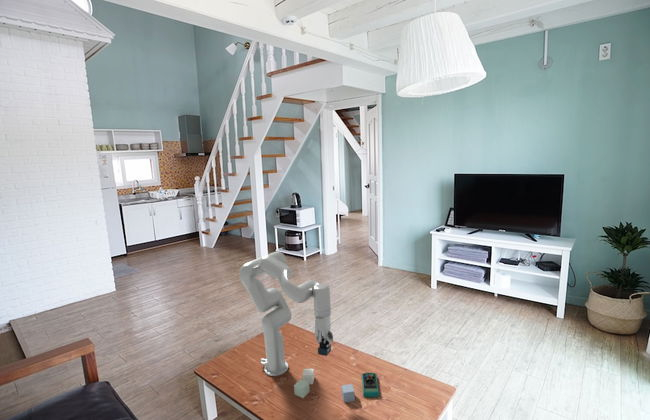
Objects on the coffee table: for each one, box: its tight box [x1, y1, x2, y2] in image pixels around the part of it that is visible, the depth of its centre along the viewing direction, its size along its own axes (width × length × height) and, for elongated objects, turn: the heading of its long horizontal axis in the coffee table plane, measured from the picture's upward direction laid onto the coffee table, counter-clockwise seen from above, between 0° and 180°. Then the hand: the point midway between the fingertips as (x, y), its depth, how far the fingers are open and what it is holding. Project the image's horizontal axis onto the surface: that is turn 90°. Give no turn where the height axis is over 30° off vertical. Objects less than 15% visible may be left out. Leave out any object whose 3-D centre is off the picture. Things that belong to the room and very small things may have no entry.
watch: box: [315, 329, 334, 357], centre depth 159 cm, size 6×8×11 cm
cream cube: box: [301, 368, 315, 385], centre depth 170 cm, size 5×5×5 cm
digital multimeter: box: [361, 372, 380, 398], centre depth 164 cm, size 7×15×3 cm, turn 176°
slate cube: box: [341, 383, 356, 403], centre depth 157 cm, size 5×5×5 cm
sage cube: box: [293, 378, 310, 399], centre depth 161 cm, size 5×5×5 cm
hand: (324, 347), depth 159 cm, fingers closed on watch, 3 cm apart
